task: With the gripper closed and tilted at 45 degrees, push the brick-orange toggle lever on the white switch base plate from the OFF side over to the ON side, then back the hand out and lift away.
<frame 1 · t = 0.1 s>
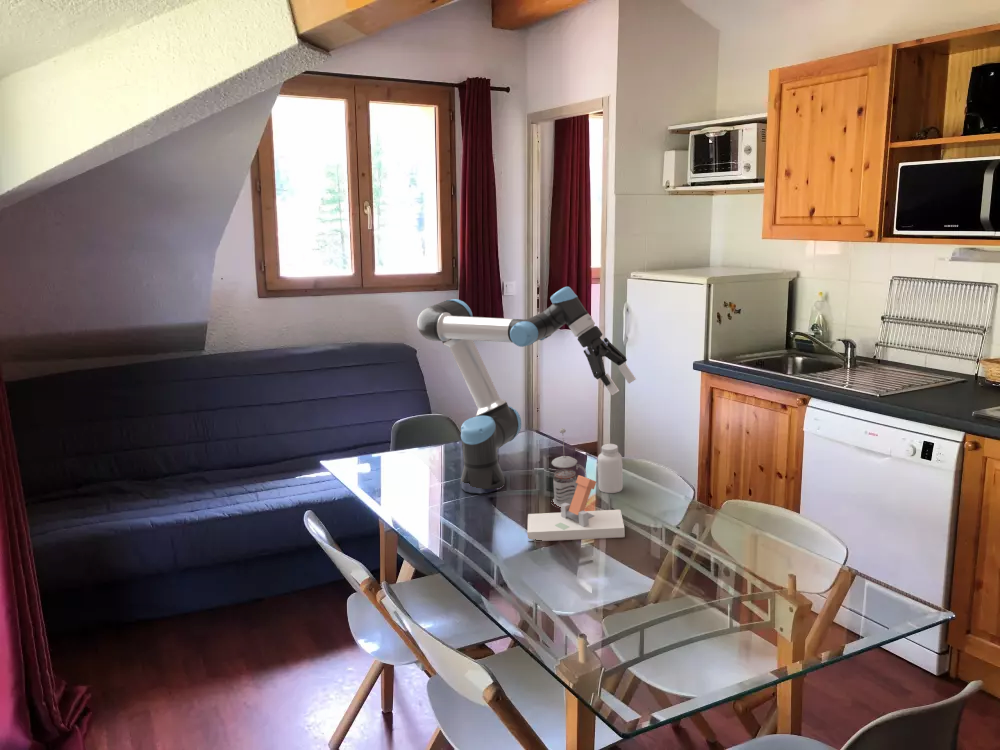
hand: (624, 387, 251), 36 cm above the table, tool tilted 35°, fingers open, 13 cm apart
white switch base plate: (575, 529, 238), on the table
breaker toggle: (580, 498, 237), point 9 cm above the table, hinge at -30.0°
pill bottle: (611, 489, 264), on the table
french press: (569, 501, 258), on the table
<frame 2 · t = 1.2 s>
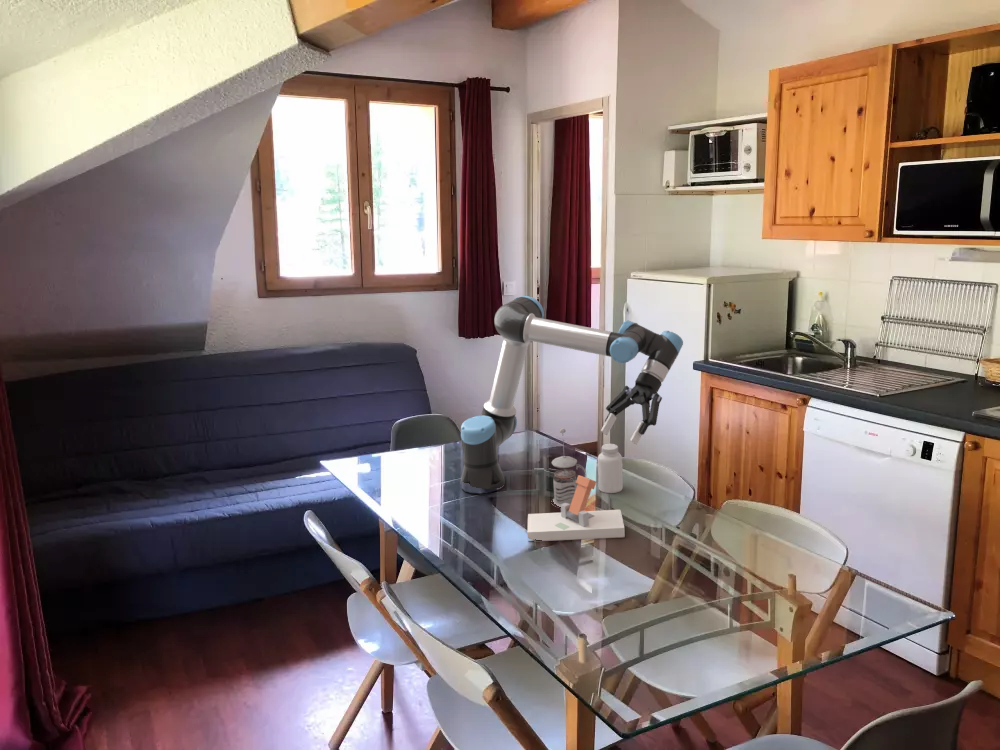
hand: (618, 437, 243), 24 cm above the table, tool tilted 45°, fingers open, 12 cm apart
nothing on the table moved.
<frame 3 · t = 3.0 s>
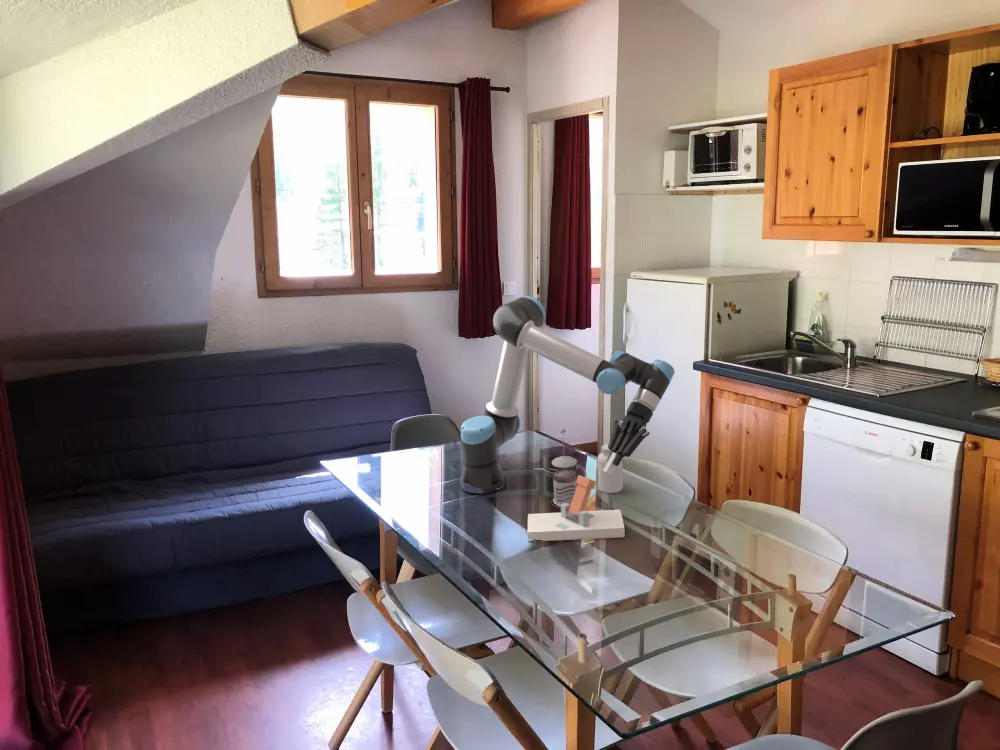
hand: (606, 473, 241), 14 cm above the table, tool tilted 45°, fingers closed
nothing on the table moved.
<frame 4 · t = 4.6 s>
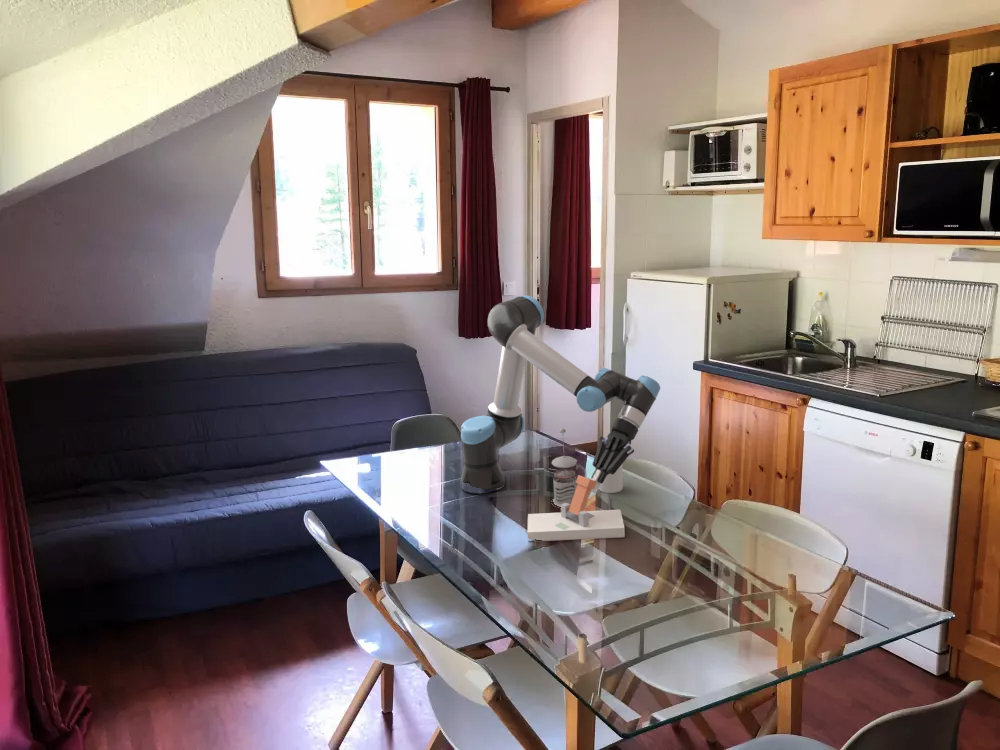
hand: (591, 490, 239), 11 cm above the table, tool tilted 45°, fingers closed
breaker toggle: (580, 498, 237), point 9 cm above the table, hinge at -29.9°, touching gripper
everything else where it was.
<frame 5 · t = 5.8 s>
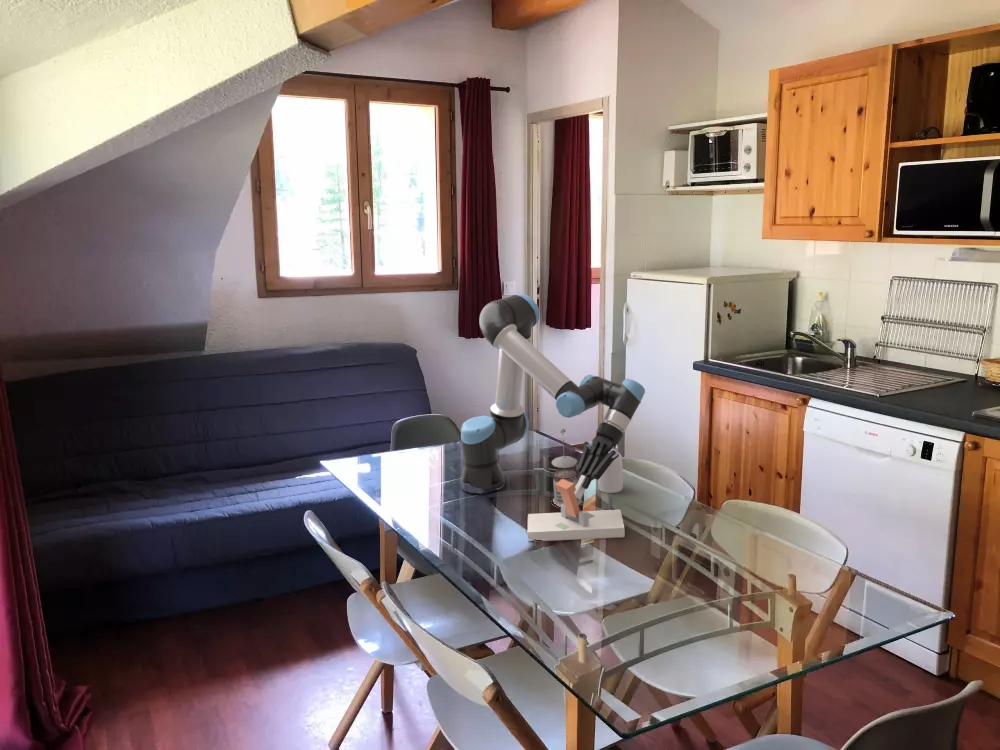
hand: (575, 496, 235), 11 cm above the table, tool tilted 45°, fingers closed
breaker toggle: (570, 501, 235), point 10 cm above the table, hinge at 15.7°, touching gripper
everything else where it was.
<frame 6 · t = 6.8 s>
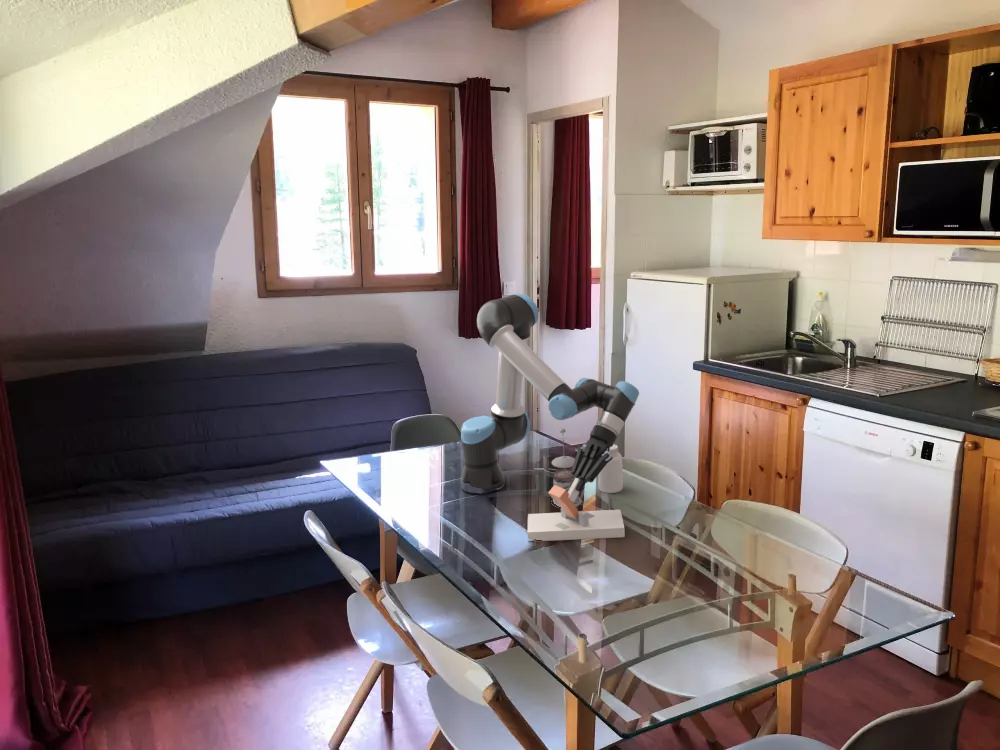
hand: (569, 499, 234), 11 cm above the table, tool tilted 45°, fingers closed
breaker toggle: (566, 504, 234), point 9 cm above the table, hinge at 31.8°, touching gripper
everything else where it was.
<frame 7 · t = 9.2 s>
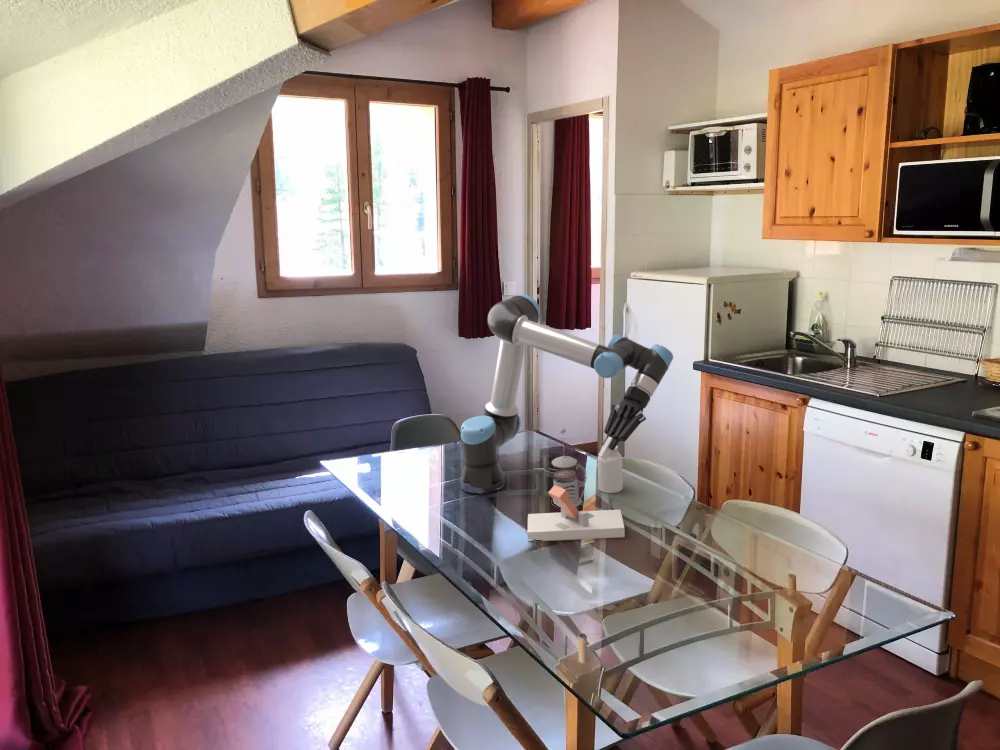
hand: (602, 457, 240), 20 cm above the table, tool tilted 45°, fingers closed
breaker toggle: (566, 504, 234), point 9 cm above the table, hinge at 31.8°
everything else where it was.
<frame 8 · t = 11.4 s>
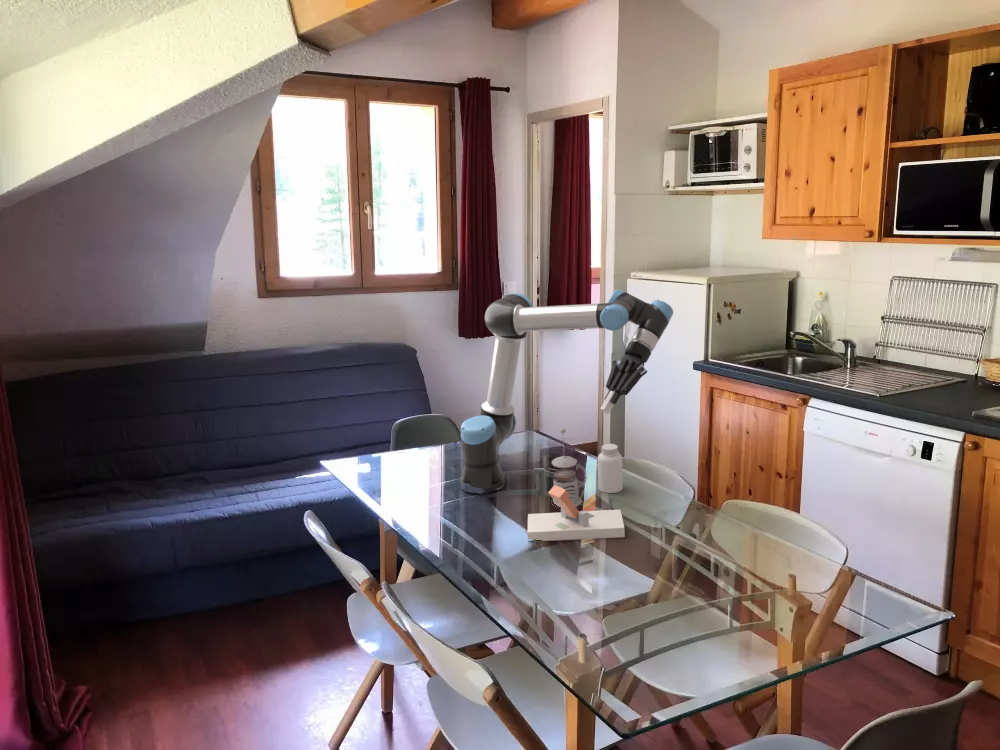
hand: (604, 411, 242), 32 cm above the table, tool tilted 45°, fingers closed
nothing on the table moved.
at the end: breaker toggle at +32° (first picture: -30°); french press moved 0.2 cm from its start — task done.
